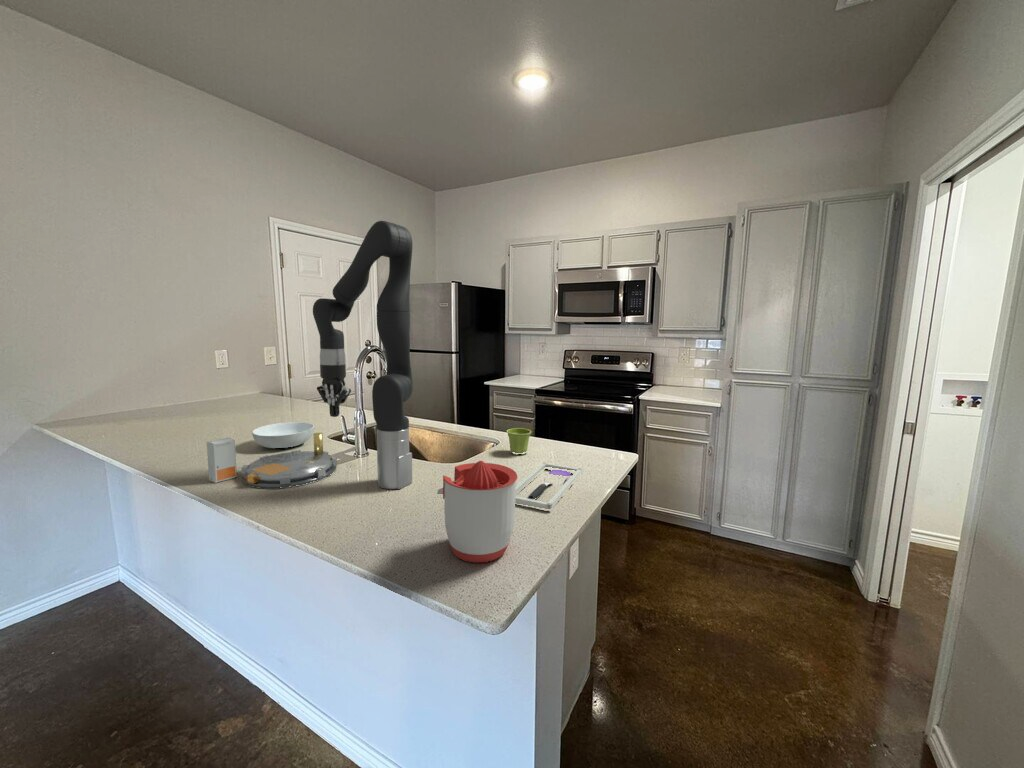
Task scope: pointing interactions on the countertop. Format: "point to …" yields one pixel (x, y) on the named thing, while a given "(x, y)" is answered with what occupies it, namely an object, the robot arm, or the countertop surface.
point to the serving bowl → (283, 434)
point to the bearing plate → (277, 485)
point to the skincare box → (221, 459)
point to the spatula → (543, 486)
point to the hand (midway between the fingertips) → (334, 416)
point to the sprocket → (291, 465)
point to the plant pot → (518, 439)
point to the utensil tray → (555, 498)
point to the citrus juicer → (479, 510)
